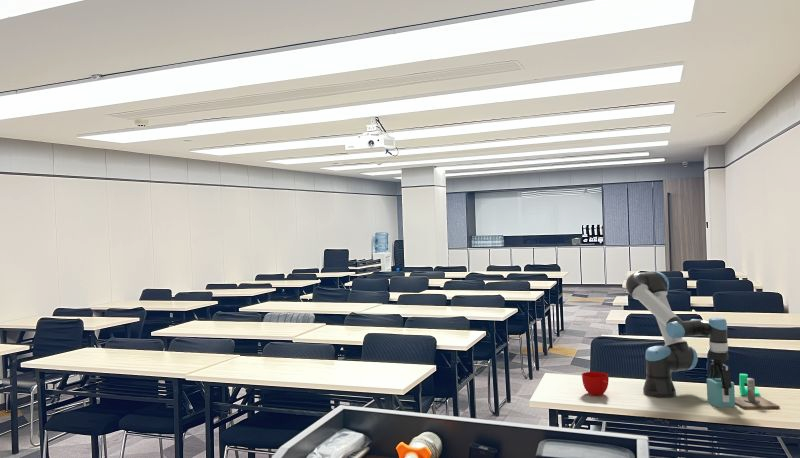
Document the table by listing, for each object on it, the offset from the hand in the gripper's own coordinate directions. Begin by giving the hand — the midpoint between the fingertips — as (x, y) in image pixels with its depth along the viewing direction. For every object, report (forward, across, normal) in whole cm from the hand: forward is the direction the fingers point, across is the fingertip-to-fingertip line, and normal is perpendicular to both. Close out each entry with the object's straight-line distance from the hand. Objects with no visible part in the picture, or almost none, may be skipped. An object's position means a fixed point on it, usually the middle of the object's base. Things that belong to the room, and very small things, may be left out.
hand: (720, 399), depth 267 cm
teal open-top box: (+2, 0, 0) cm, 2 cm away
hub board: (+2, 0, -14) cm, 14 cm away
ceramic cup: (+3, +18, +52) cm, 55 cm away
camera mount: (+3, +15, -21) cm, 26 cm away
